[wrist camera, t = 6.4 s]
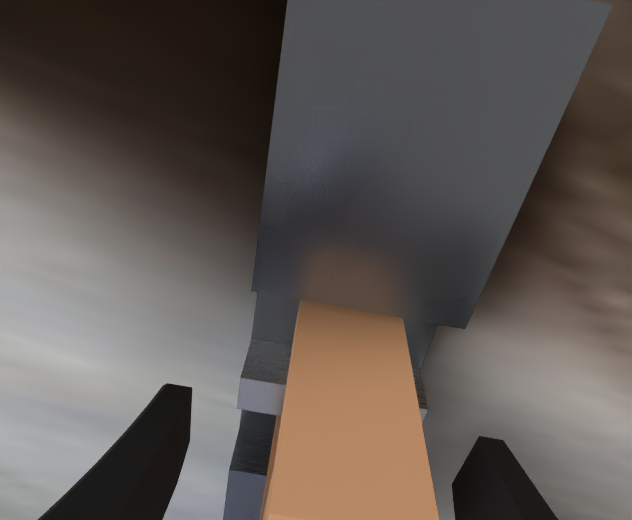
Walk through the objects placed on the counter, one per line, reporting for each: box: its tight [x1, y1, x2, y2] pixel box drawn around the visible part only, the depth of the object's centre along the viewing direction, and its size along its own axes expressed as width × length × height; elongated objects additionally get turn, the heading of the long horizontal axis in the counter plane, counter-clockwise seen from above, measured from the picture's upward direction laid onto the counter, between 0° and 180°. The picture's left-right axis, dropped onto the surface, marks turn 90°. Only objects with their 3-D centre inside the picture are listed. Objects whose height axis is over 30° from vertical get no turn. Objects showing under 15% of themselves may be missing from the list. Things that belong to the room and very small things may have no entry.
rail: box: [223, 0, 613, 520], centre depth 13 cm, size 20×5×3 cm, turn 170°
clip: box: [259, 300, 439, 520], centre depth 11 cm, size 5×3×6 cm, turn 169°
